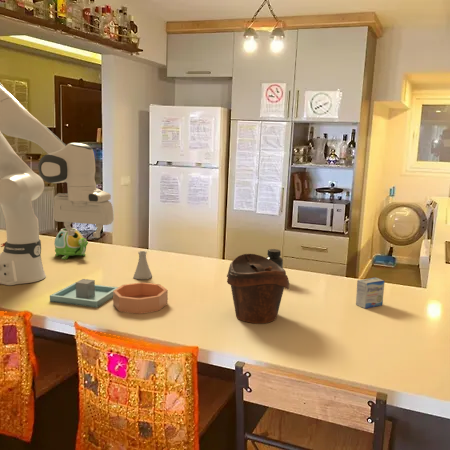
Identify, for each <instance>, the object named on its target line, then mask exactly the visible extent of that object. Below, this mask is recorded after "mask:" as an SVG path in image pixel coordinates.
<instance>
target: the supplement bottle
mask: <svg viewBox="0 0 450 450" xmlns="http://www.w3.org/2000/svg"><path fill="white" fill-rule="evenodd" d="M281 252H282V251H281V250H280V249H277V248H276V249H275V248H271V249H270V248H269V249H267V256H266V257H265V258H267V259H269V260H271V261H273V262H275V263H277V264H278V265H279V266H280V267H282V268H283V269H284V260H283V258H282V257H281V255H282V253H281Z"/></svg>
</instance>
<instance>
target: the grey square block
mask: <svg viewBox="0 0 450 450" xmlns="http://www.w3.org/2000/svg"><path fill="white" fill-rule="evenodd" d="M95 285H96V282H95V280H94V279H88V278H87V279H86V278H82V279H80V280H78V281H76V297H79V298H87V299H88V298H90V297H91V296H93V295H95Z"/></svg>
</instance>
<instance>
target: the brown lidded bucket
mask: <svg viewBox="0 0 450 450" xmlns="http://www.w3.org/2000/svg"><path fill="white" fill-rule="evenodd" d="M226 278H227V280H226V282H227V284H228V285H229V286H230V289H231V294H232V300H233V306H234V311H235V318H236V319H238V320H240V321H242V322H246V323H251V324H256V325H257V324H258V325H261V324H268V323H272V322H273V321H275V320H276V319H277V317H278V313H279V310H280V307H281V301H282V297H283V293H284V290H285V289H287V290H288V291H289V292H290V280H289V277H288V275H287V273H286V270H285V269H284V267H283V268H282V267H280V266H279V265H278V264H277V263H275V262H273V261H271V260H269V259H267V258H266V257H264V256H262V255H259V254H255V253H243V254H240V255H238V256H237V257H235V258H234V259H232V261H231V262H230V264H229V267H228V271H227V274H226Z"/></svg>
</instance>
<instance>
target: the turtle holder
mask: <svg viewBox="0 0 450 450" xmlns="http://www.w3.org/2000/svg"><path fill="white" fill-rule="evenodd" d="M71 228H72V230H74V233H75V234H74V235H73V236H68V231H67V229H66V228H65V227H64V228H61V229H60V230H59V232H58V233H57V235H56V236H55V238H54V253H55V256H56V257H59V256H60V255H62V257H61V260H68V258H69V257H71V256H82V257H84V256H86V250H87V246H88V244H89V241H88V240H87V238H85V237H84V236H83V234H82V232H80V231H79V230H78V229H77V228H75V227H71Z"/></svg>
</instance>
